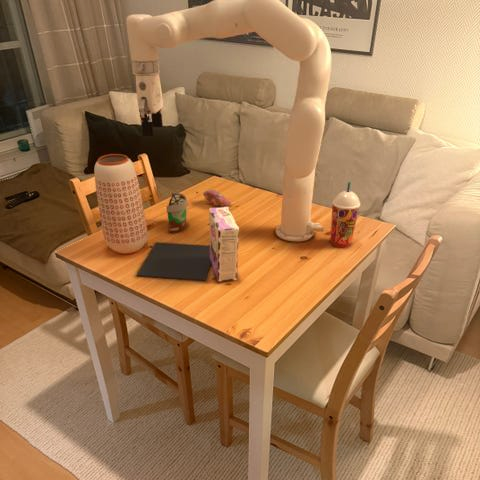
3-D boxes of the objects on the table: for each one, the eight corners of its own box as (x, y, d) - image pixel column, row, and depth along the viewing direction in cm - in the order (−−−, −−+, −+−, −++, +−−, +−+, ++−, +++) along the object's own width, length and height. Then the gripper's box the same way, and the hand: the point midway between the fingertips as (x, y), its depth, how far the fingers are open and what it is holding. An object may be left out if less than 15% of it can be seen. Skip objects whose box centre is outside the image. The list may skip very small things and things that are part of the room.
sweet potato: (206, 205, 174) (199, 192, 168) (213, 197, 175) (207, 183, 169) (224, 212, 168) (218, 199, 163) (232, 204, 169) (226, 190, 164)
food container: (187, 234, 151) (185, 206, 145) (169, 234, 151) (166, 206, 145) (191, 218, 161) (189, 191, 155) (174, 218, 161) (171, 191, 155)
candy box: (208, 257, 138) (208, 207, 128) (227, 256, 139) (229, 205, 129) (217, 282, 127) (217, 229, 117) (237, 280, 129) (239, 227, 118)
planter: (129, 234, 151) (114, 148, 134) (158, 245, 145) (146, 156, 128) (97, 250, 143) (78, 160, 125) (127, 262, 137) (110, 169, 119)
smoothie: (348, 251, 141) (357, 189, 129) (323, 245, 145) (330, 184, 133) (357, 241, 147) (367, 180, 135) (333, 234, 151) (341, 175, 138)
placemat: (217, 247, 144) (217, 246, 144) (204, 281, 128) (204, 279, 128) (156, 243, 146) (156, 242, 146) (136, 276, 130) (136, 275, 130)
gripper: (149, 73, 120) (157, 140, 130) (166, 62, 133) (172, 124, 144) (122, 72, 121) (132, 139, 131) (142, 62, 134) (149, 123, 145)
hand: (153, 131), depth 137 cm, fingers open, 9 cm apart
